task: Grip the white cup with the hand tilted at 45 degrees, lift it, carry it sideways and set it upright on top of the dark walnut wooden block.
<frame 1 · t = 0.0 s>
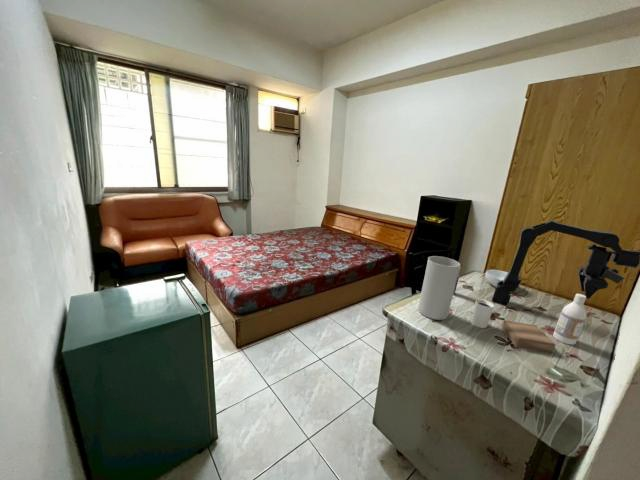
hand: (585, 294, 114), 15 cm above the cabinet, tool pointing down, fingers open, 9 cm apart
walnut block: (525, 340, 103), on the cabinet
cylinder vase: (432, 313, 118), on the cabinet
cereal bowl: (499, 286, 153), on the cabinet
container: (450, 292, 140), on the cabinet
bath foam: (563, 340, 105), on the cabinet
white cup: (478, 324, 112), on the cabinet
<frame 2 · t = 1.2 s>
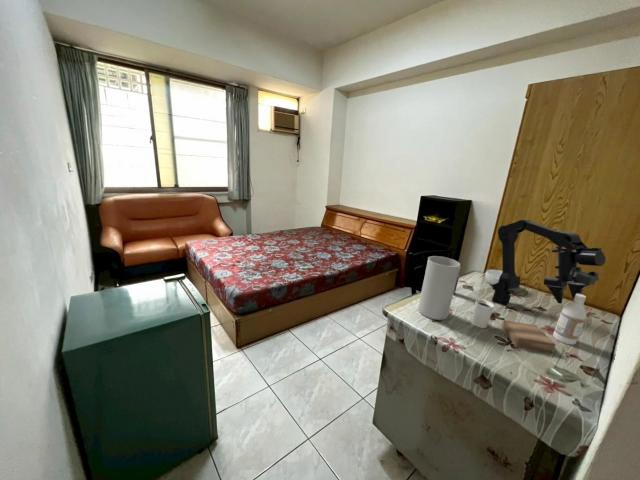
hand: (567, 302, 105), 15 cm above the cabinet, tool tilted 15°, fingers open, 9 cm apart
nothing on the cabinet moved.
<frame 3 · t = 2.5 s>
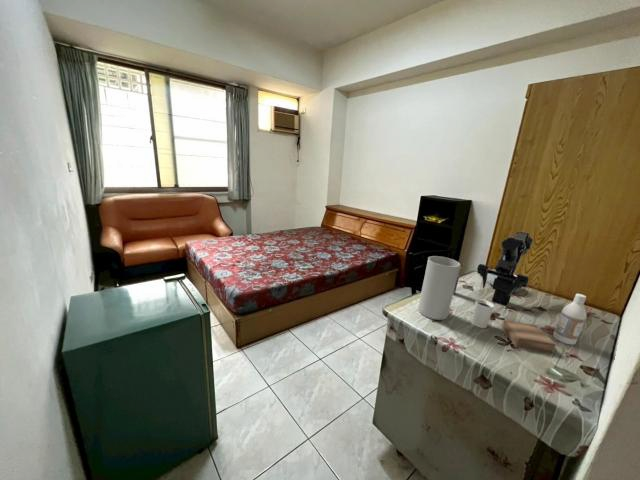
hand: (495, 291, 113), 13 cm above the cabinet, tool tilted 45°, fingers open, 9 cm apart
nothing on the cabinet moved.
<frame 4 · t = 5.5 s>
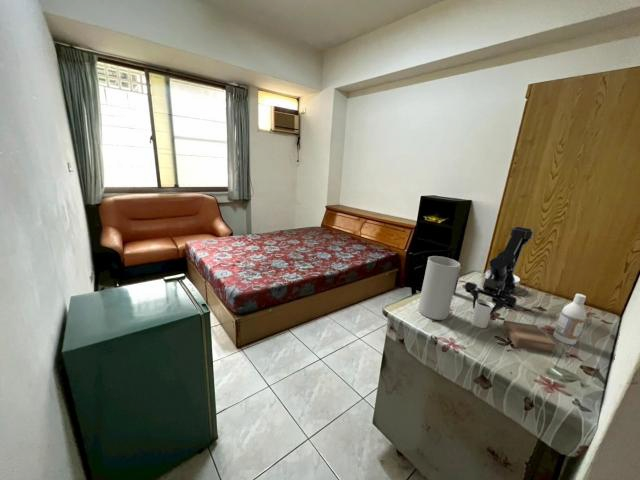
hand: (481, 311, 109), 7 cm above the cabinet, tool tilted 45°, fingers closed on white cup, 6 cm apart
white cup: (478, 324, 112), on the cabinet, touching gripper
everything else where it was.
when the fingers open (11 cm above the cabinet, at t = 9.5 s): white cup stays where it is, resting on walnut block.
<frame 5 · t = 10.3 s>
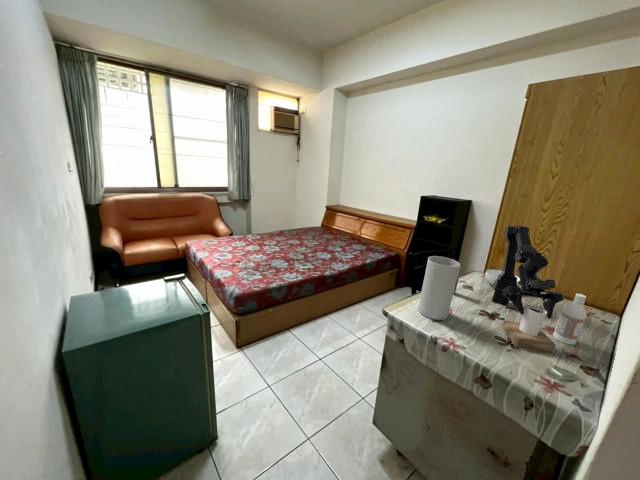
hand: (536, 316, 99), 12 cm above the cabinet, tool tilted 45°, fingers open, 9 cm apart
white cup: (528, 331, 102), point 4 cm above the cabinet, touching walnut block
everything else where it was.
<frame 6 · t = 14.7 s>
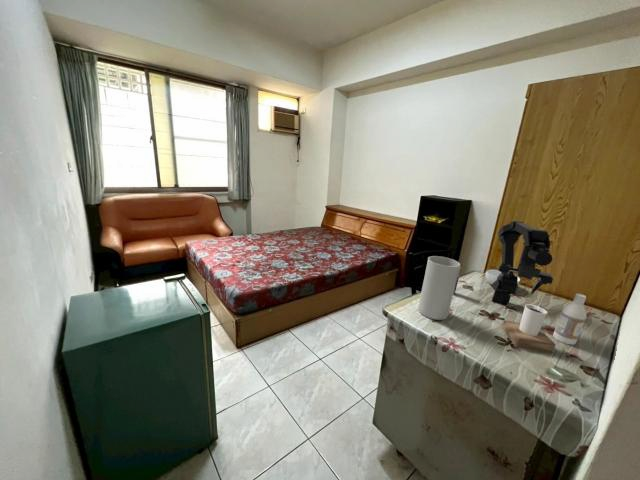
hand: (518, 290, 117), 13 cm above the cabinet, tool pointing down, fingers open, 9 cm apart
nothing on the cabinet moved.
at the end: white cup inside the target area on the walnut block (0.1 cm from its centre), point 3.8 cm above the walnut block's base; white cup tilted 0°; the gripper is holding nothing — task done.
